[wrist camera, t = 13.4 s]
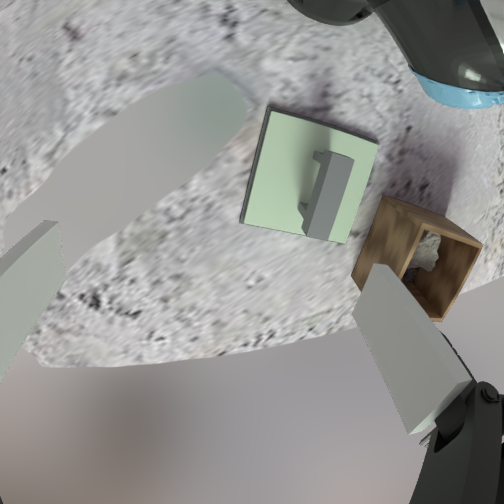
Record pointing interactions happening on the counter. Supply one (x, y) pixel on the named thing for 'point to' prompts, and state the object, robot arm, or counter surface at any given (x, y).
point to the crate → (403, 247)
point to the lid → (309, 179)
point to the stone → (426, 251)
